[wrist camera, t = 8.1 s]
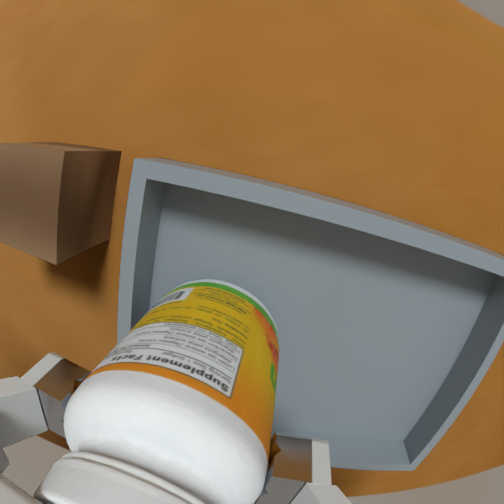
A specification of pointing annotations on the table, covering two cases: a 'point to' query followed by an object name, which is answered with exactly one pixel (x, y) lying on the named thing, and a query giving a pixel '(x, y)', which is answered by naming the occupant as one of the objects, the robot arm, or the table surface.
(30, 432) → the robot arm
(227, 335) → the supplement bottle
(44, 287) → the table surface
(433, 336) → the tray
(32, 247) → the walnut block
